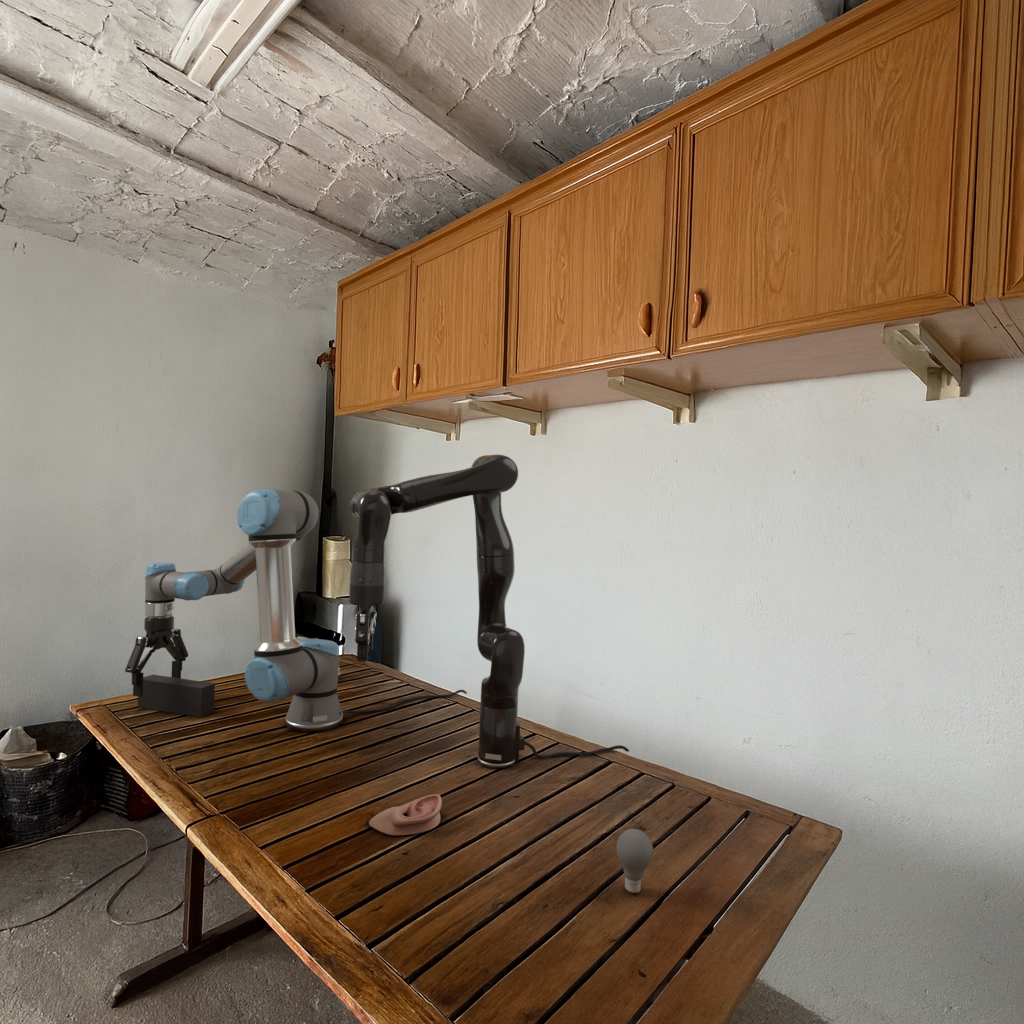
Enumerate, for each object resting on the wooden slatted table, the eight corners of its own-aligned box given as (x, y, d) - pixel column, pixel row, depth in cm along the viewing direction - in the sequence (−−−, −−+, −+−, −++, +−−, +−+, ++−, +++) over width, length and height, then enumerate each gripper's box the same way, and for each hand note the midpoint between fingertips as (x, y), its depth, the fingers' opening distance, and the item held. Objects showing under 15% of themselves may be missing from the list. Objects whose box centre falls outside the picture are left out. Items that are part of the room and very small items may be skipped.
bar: (137, 707, 183) (138, 678, 182) (151, 702, 187) (152, 674, 187) (201, 717, 177) (202, 688, 176) (214, 712, 181) (215, 683, 181)
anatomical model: (362, 810, 120) (386, 784, 132) (361, 831, 121) (385, 803, 132) (429, 820, 118) (447, 793, 129) (428, 841, 118) (446, 812, 129)
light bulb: (610, 879, 108) (613, 822, 108) (644, 879, 109) (647, 822, 109) (619, 902, 102) (622, 840, 102) (655, 901, 103) (658, 840, 103)
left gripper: (133, 624, 170) (131, 703, 171) (202, 610, 194) (200, 679, 195) (111, 622, 172) (109, 700, 173) (182, 608, 196) (180, 676, 197)
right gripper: (382, 587, 131) (379, 665, 131) (388, 578, 145) (385, 648, 145) (345, 586, 130) (341, 664, 130) (354, 577, 144) (351, 648, 144)
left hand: (157, 689), depth 184 cm, fingers open, 13 cm apart
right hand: (364, 656), depth 138 cm, fingers open, 8 cm apart
